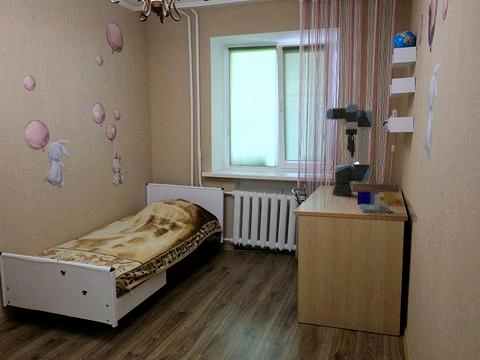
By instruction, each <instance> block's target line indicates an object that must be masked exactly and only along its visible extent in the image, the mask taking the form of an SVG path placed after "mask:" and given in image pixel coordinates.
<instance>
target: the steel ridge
mask: <svg viewBox="0 0 480 360" xmlns="http://www.w3.org/2000/svg"><path fill="white" fill-rule="evenodd" d="M380 204H381V193H380V192H371V196H370V205H371V206H372V207H373V209H374V210H380Z"/></svg>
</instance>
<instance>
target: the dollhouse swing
mask: <svg viewBox="0 0 480 360" xmlns="http://www.w3.org/2000/svg"><path fill="white" fill-rule="evenodd" d="M382 193H383V198H382V204H384V205H386V206H387V207H389V206H391V207H393V206H396V205H398V206H403V205H404V204H403V200H402V199H400V198H398V197H397V192H382Z"/></svg>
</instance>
